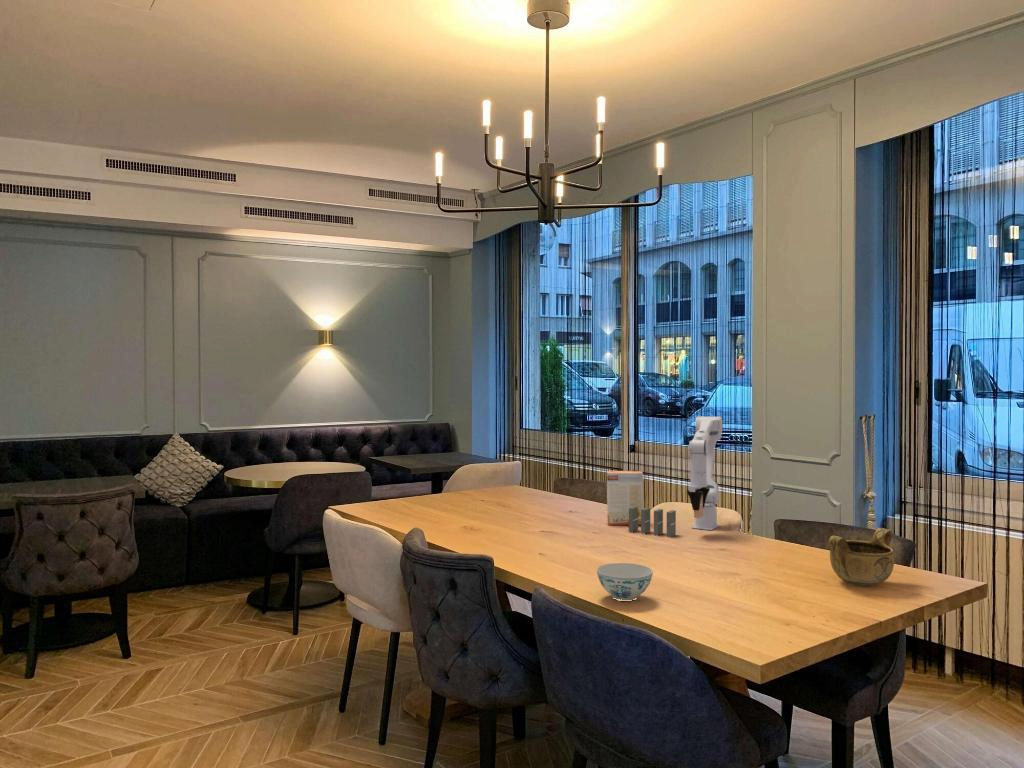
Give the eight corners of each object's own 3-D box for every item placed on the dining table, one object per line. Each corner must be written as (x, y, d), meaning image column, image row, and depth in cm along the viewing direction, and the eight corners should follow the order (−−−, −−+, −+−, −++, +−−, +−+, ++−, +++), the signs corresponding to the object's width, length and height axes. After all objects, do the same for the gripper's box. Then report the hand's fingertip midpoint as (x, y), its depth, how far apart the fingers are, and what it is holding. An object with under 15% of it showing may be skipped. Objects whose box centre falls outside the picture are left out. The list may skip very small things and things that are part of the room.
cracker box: (642, 522, 307) (642, 470, 306) (643, 526, 301) (643, 472, 300) (606, 522, 308) (606, 470, 308) (607, 525, 302) (607, 472, 302)
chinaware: (663, 597, 209) (663, 569, 208) (632, 610, 198) (632, 580, 197) (617, 587, 219) (617, 560, 218) (585, 599, 208) (585, 570, 207)
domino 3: (671, 534, 286) (671, 510, 286) (675, 534, 285) (675, 510, 285) (666, 536, 282) (666, 512, 282) (670, 537, 281) (670, 512, 281)
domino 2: (658, 532, 289) (658, 508, 289) (663, 533, 288) (663, 509, 288) (653, 535, 285) (653, 510, 285) (657, 535, 284) (658, 511, 284)
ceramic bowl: (863, 572, 233) (863, 523, 233) (914, 586, 218) (915, 534, 217) (809, 581, 223) (810, 530, 223) (859, 597, 208) (859, 542, 208)
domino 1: (646, 531, 292) (646, 507, 292) (650, 531, 291) (650, 507, 291) (641, 533, 288) (641, 509, 287) (645, 534, 287) (645, 510, 286)
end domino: (634, 529, 294) (634, 506, 294) (638, 530, 294) (638, 506, 293) (628, 532, 290) (628, 508, 290) (632, 532, 289) (632, 508, 289)
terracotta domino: (698, 515, 286) (698, 491, 286) (702, 515, 285) (703, 491, 285) (693, 517, 282) (693, 493, 282) (698, 518, 281) (698, 493, 281)
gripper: (694, 468, 291) (694, 504, 292) (681, 473, 279) (681, 510, 280) (713, 470, 288) (712, 506, 288) (700, 475, 275) (700, 512, 276)
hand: (698, 508), depth 284 cm, fingers closed on terracotta domino, 5 cm apart
